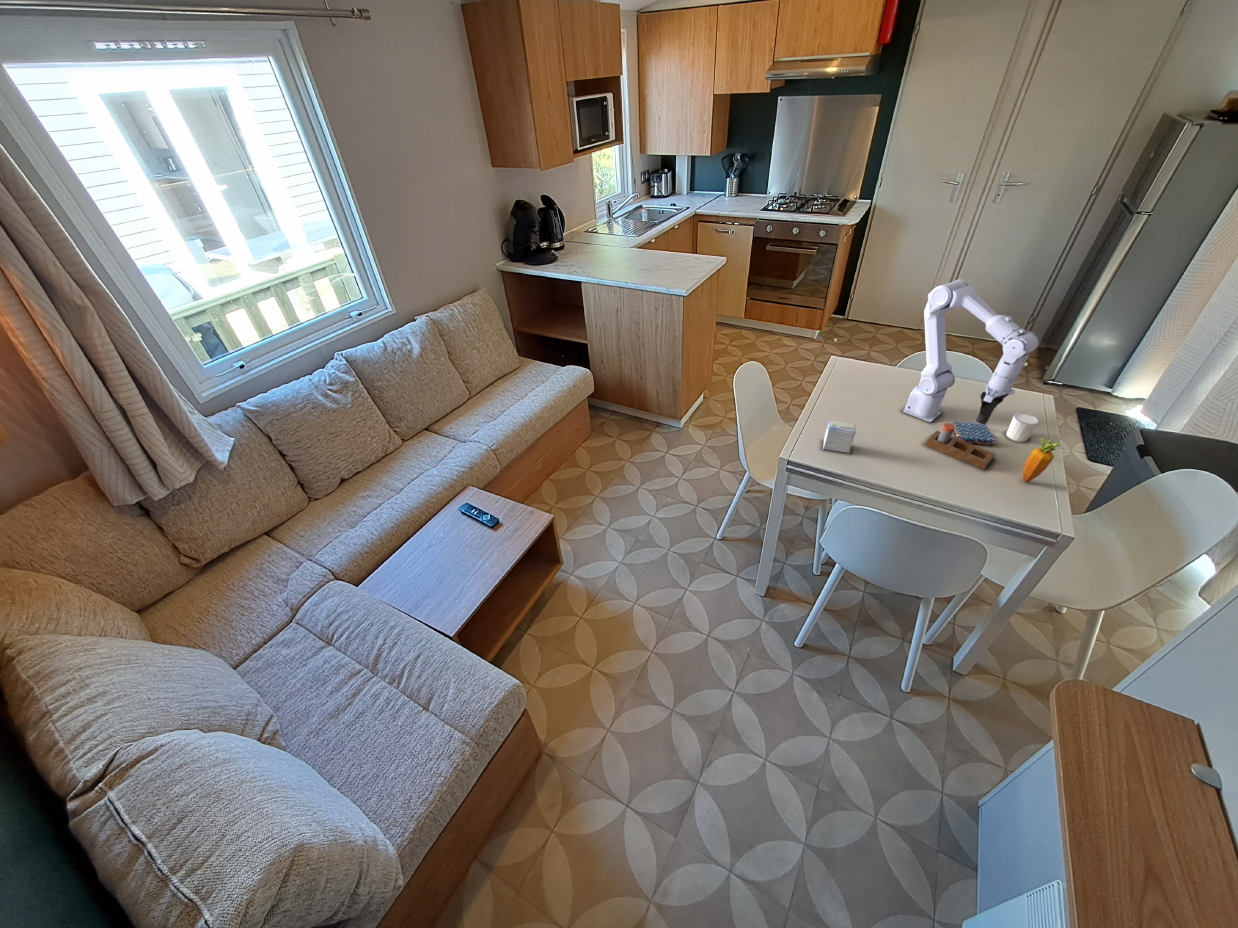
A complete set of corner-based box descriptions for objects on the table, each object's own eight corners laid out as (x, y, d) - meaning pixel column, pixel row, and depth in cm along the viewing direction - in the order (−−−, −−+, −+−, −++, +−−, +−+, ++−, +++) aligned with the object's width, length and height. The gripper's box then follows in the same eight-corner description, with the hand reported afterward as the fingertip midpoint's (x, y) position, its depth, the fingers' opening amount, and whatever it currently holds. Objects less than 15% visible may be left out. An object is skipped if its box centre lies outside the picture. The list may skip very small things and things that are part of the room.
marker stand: (925, 445, 157) (927, 439, 155) (934, 436, 160) (937, 430, 159) (983, 469, 147) (987, 463, 145) (992, 459, 150) (995, 453, 148)
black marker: (973, 421, 154) (984, 401, 149) (977, 417, 155) (988, 397, 150) (984, 425, 152) (995, 405, 147) (989, 421, 153) (999, 401, 149)
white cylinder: (1033, 443, 155) (1044, 425, 150) (1008, 442, 156) (1019, 424, 152) (1024, 431, 160) (1034, 413, 155) (1000, 429, 161) (1010, 411, 157)
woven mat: (984, 427, 162) (986, 422, 161) (995, 446, 155) (998, 441, 153) (949, 424, 165) (951, 419, 163) (958, 443, 157) (960, 438, 155)
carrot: (1010, 477, 144) (1035, 436, 134) (1027, 475, 144) (1053, 434, 134) (1022, 488, 140) (1049, 447, 130) (1039, 486, 140) (1067, 445, 131)
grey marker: (933, 445, 157) (941, 426, 152) (937, 440, 158) (946, 421, 154) (943, 449, 155) (952, 430, 150) (947, 445, 156) (957, 426, 152)
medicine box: (848, 445, 159) (855, 423, 153) (849, 453, 156) (856, 431, 150) (823, 441, 161) (829, 419, 156) (822, 449, 158) (828, 427, 152)
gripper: (1012, 388, 137) (991, 427, 146) (1030, 369, 144) (1009, 408, 152) (984, 379, 141) (965, 418, 150) (1003, 361, 148) (984, 399, 157)
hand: (985, 412), depth 151 cm, fingers closed on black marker, 3 cm apart
